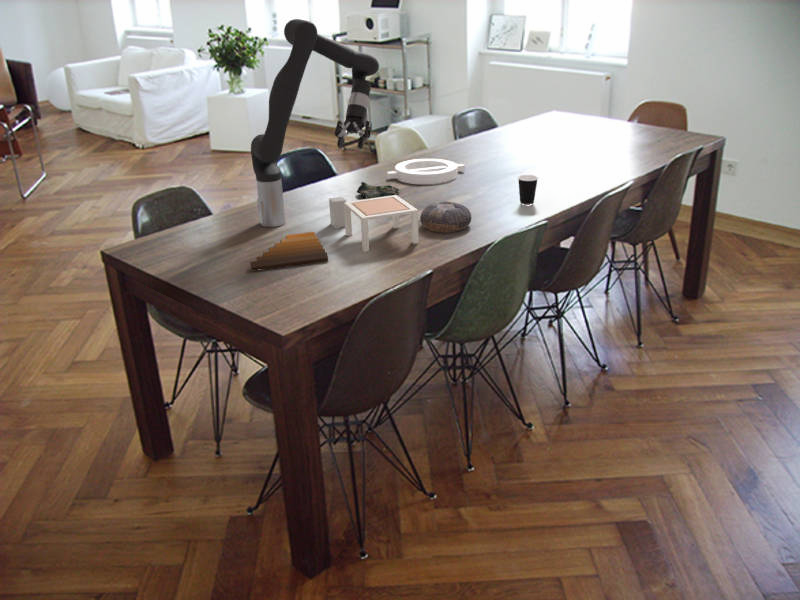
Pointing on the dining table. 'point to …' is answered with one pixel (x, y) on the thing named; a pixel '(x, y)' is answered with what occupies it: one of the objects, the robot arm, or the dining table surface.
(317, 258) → the pan flute
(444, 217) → the sea urchin shell
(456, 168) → the ring with crossbar
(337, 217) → the grey upright block
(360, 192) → the decorative rock
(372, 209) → the trapdoor
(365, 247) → the white four-legged frame
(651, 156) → the dining table surface
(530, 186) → the glass of dark beer
